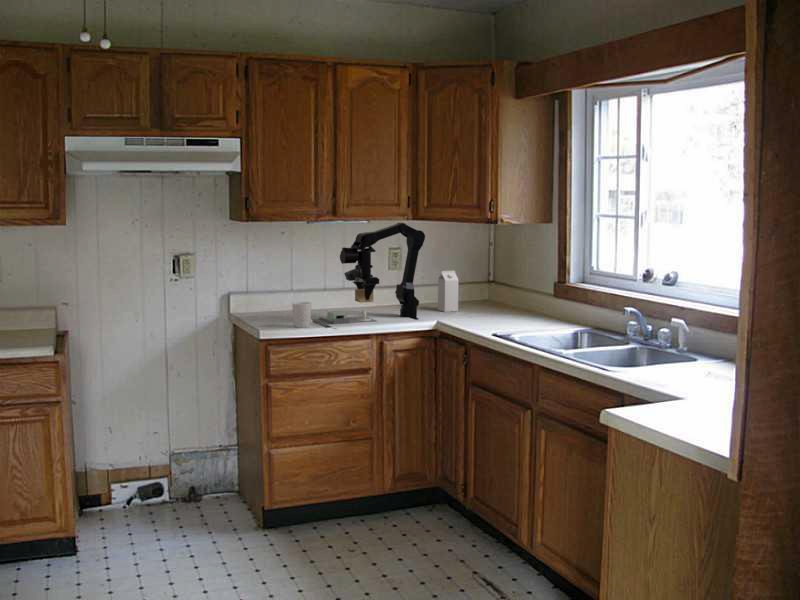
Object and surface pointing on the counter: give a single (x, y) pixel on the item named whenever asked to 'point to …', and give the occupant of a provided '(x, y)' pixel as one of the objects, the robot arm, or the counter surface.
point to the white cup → (301, 314)
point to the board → (343, 320)
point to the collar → (362, 296)
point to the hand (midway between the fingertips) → (364, 298)
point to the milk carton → (448, 291)
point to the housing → (336, 315)
